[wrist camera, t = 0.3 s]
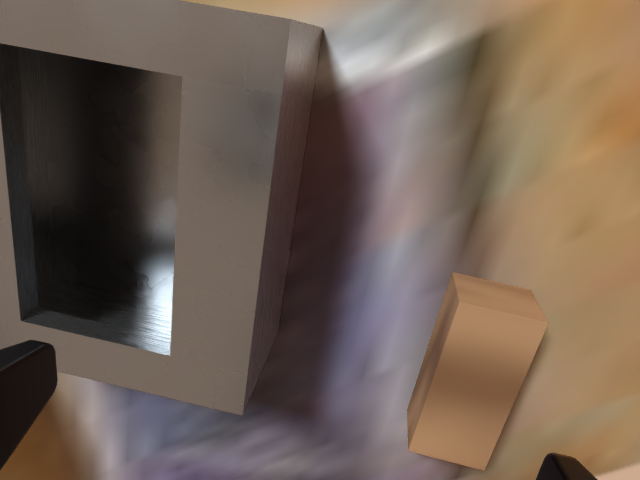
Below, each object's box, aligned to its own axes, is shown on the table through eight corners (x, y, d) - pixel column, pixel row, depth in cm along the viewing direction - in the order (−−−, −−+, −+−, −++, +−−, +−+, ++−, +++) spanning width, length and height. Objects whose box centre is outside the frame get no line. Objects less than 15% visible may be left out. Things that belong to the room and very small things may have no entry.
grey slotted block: (278, 331, 24) (242, 415, 19) (53, 281, 25) (-45, 346, 20) (322, 28, 19) (290, 19, 13) (34, -22, 20) (-109, -49, 14)
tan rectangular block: (474, 423, 25) (484, 470, 22) (407, 406, 25) (408, 450, 22) (529, 287, 22) (548, 322, 19) (451, 269, 22) (459, 301, 19)
